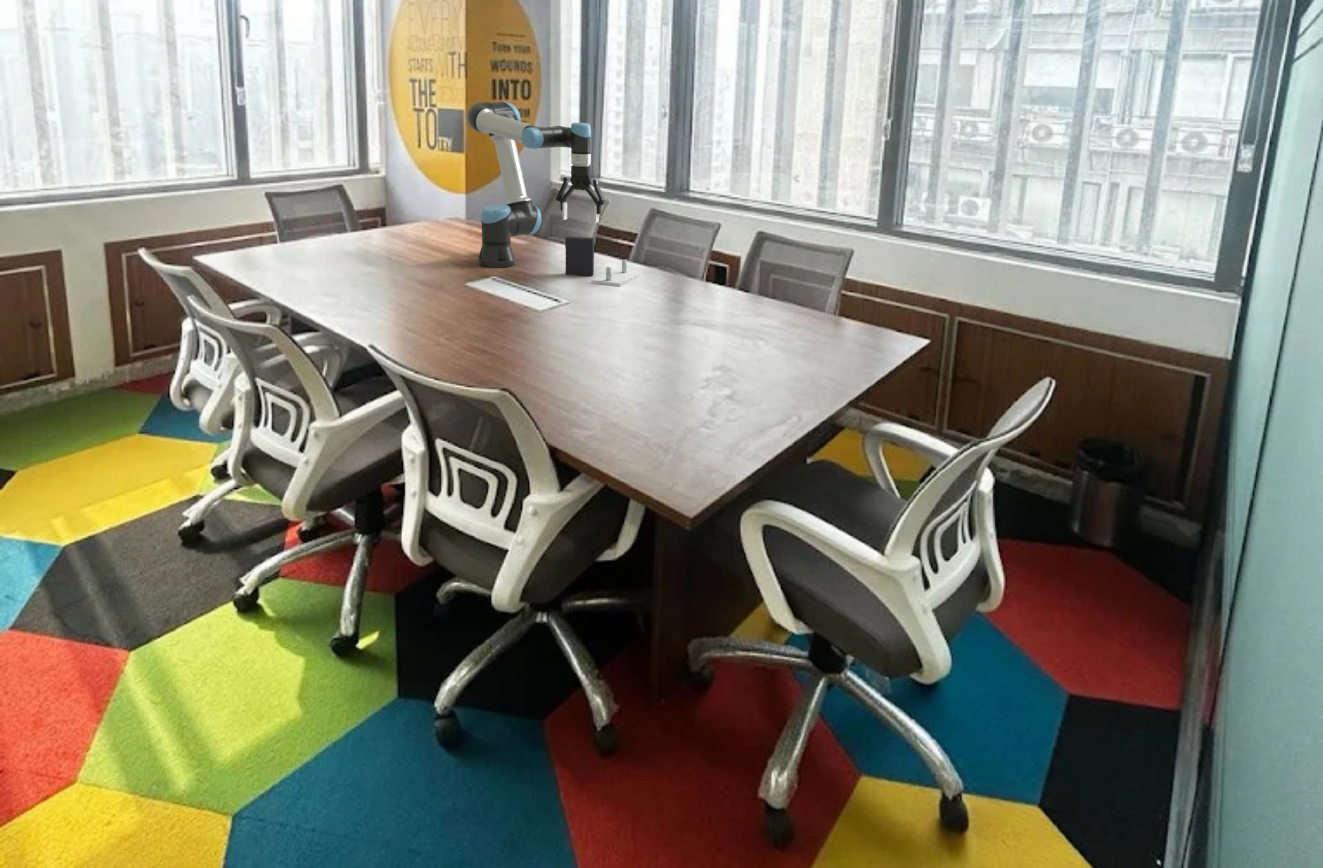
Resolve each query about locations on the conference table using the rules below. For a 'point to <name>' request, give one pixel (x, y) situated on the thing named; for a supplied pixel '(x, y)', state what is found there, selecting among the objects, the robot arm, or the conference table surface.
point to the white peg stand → (616, 276)
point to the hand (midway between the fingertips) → (580, 221)
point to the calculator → (579, 256)
